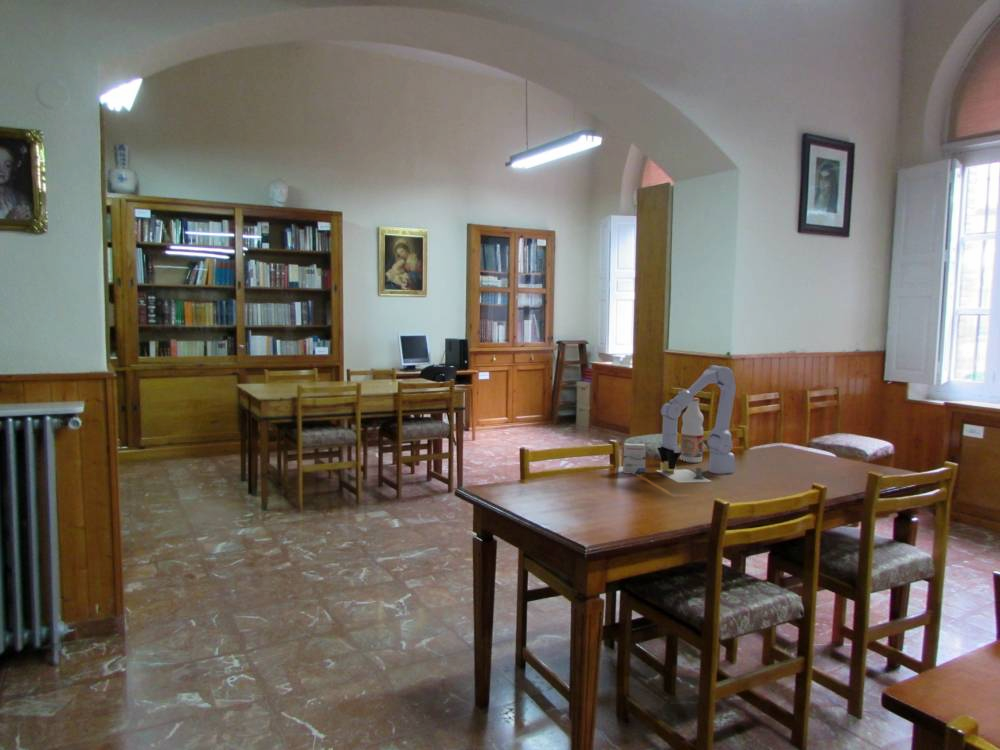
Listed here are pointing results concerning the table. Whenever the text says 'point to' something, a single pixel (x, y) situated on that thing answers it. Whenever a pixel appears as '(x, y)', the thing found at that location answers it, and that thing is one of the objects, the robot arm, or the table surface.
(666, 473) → the hub
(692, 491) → the table surface
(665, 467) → the ring
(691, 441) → the fruit juice
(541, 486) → the table surface
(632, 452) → the ink box
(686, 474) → the board
